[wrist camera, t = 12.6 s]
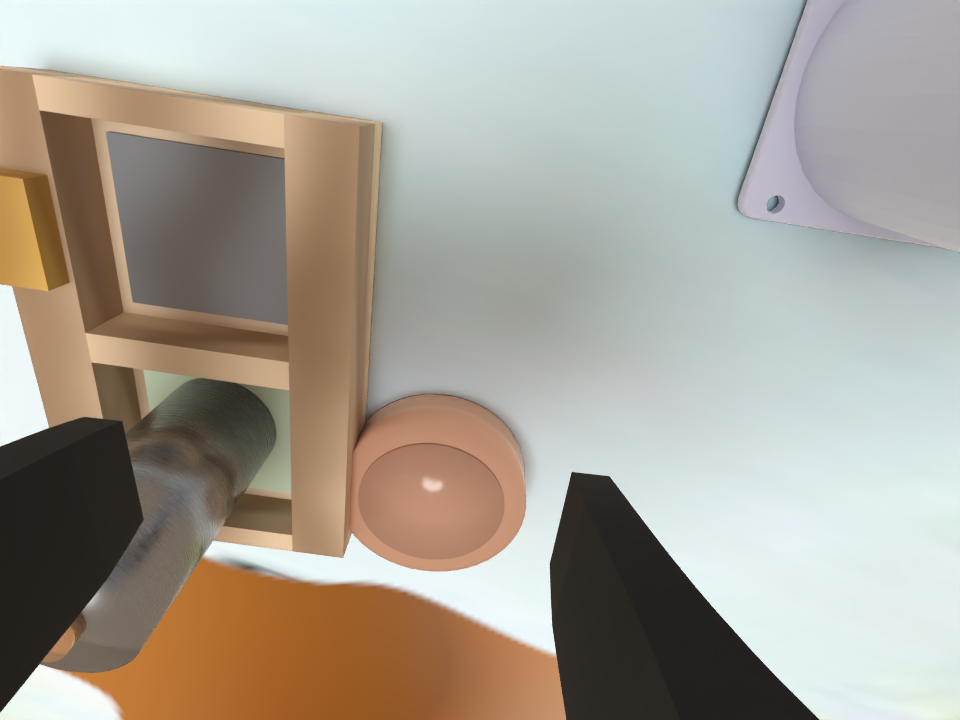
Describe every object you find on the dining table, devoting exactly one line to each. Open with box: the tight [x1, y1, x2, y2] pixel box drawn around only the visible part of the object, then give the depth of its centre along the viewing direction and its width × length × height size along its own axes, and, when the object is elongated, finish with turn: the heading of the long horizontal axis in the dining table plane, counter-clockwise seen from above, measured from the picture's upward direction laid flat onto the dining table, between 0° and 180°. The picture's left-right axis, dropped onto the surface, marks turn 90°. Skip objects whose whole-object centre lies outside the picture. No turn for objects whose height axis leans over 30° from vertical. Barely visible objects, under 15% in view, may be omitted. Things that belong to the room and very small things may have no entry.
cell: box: [40, 378, 277, 673], centre depth 15 cm, size 4×4×9 cm
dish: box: [349, 394, 526, 571], centre depth 20 cm, size 7×7×2 cm
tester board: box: [0, 66, 382, 558], centre depth 17 cm, size 10×15×4 cm, turn 172°
